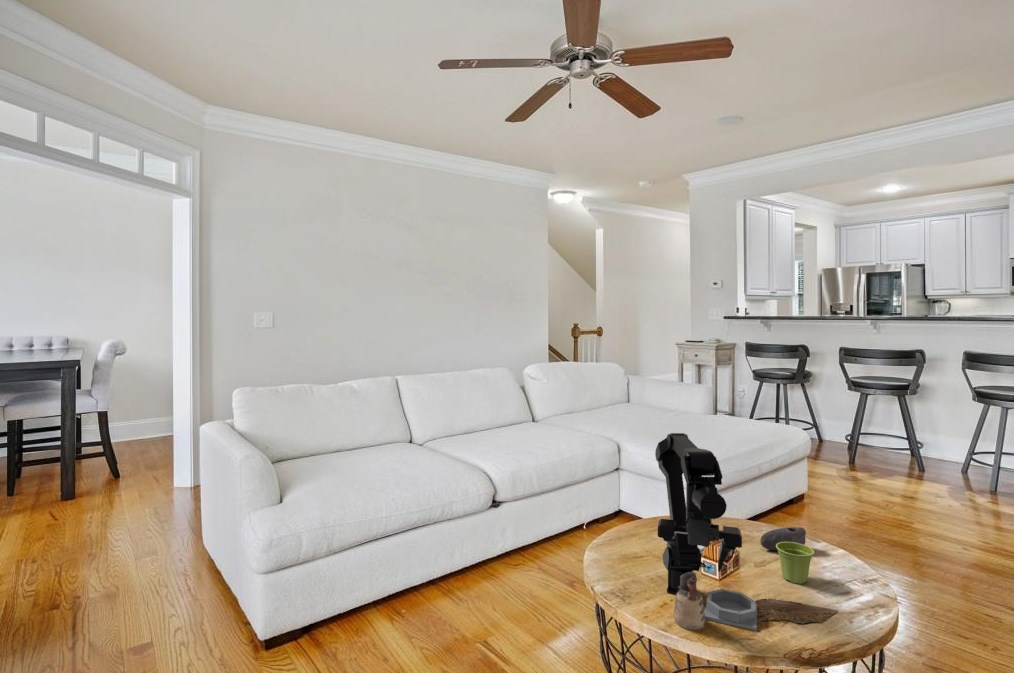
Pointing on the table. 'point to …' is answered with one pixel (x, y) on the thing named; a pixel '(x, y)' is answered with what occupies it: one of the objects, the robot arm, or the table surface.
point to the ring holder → (731, 609)
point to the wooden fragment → (791, 611)
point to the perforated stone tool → (783, 537)
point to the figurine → (689, 604)
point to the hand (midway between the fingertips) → (698, 567)
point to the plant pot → (794, 561)
